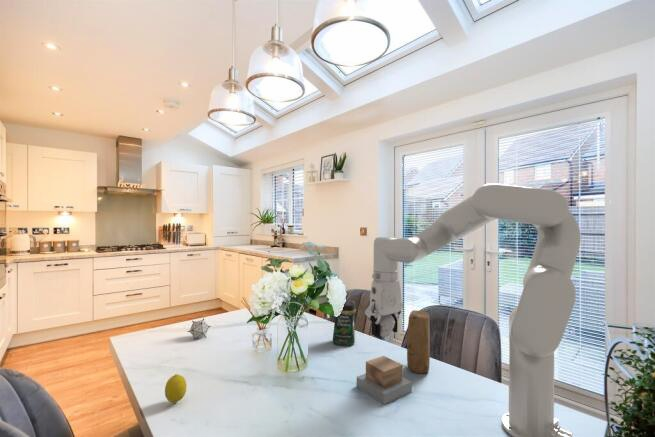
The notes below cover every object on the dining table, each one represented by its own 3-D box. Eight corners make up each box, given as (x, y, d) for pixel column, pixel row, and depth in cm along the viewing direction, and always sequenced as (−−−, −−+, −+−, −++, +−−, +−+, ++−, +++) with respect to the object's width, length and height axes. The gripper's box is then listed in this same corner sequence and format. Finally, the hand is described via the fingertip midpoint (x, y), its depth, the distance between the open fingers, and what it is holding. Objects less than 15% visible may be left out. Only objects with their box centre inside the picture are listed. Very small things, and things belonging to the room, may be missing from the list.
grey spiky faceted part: (194, 347, 136) (179, 330, 134) (206, 334, 143) (192, 317, 142) (206, 341, 132) (191, 323, 131) (218, 327, 140) (204, 310, 138)
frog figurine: (399, 336, 97) (399, 314, 97) (384, 341, 93) (385, 318, 93) (384, 331, 102) (384, 309, 102) (369, 335, 97) (369, 313, 97)
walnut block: (402, 381, 96) (402, 364, 96) (384, 388, 91) (384, 371, 91) (383, 370, 102) (383, 355, 103) (365, 377, 98) (365, 361, 98)
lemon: (180, 395, 92) (181, 368, 92) (189, 402, 88) (190, 374, 88) (161, 403, 87) (161, 374, 88) (169, 411, 84) (170, 381, 84)
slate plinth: (411, 391, 96) (411, 382, 96) (384, 404, 88) (384, 394, 89) (383, 375, 105) (383, 367, 105) (356, 386, 98) (356, 376, 98)
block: (428, 376, 105) (428, 317, 105) (405, 372, 108) (406, 314, 108) (431, 363, 115) (431, 309, 115) (410, 359, 118) (411, 307, 118)
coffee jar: (331, 345, 131) (331, 301, 131) (334, 338, 139) (335, 297, 139) (353, 347, 129) (354, 302, 129) (356, 340, 136) (356, 298, 137)
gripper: (373, 281, 89) (372, 343, 89) (412, 275, 99) (412, 331, 99) (356, 277, 95) (355, 335, 95) (395, 272, 105) (394, 325, 105)
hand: (384, 333), depth 97 cm, fingers closed on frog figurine, 6 cm apart
